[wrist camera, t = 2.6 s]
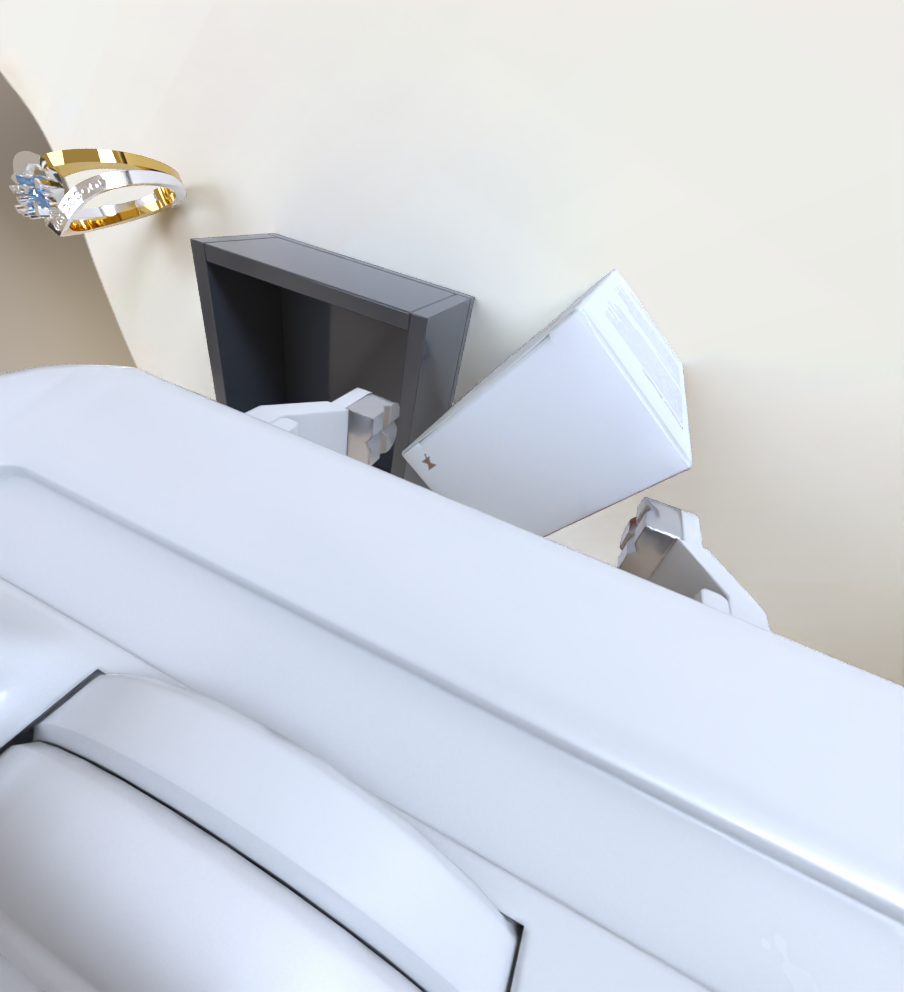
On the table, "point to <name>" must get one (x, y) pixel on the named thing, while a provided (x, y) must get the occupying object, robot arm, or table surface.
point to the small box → (565, 419)
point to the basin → (328, 332)
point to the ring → (91, 188)
